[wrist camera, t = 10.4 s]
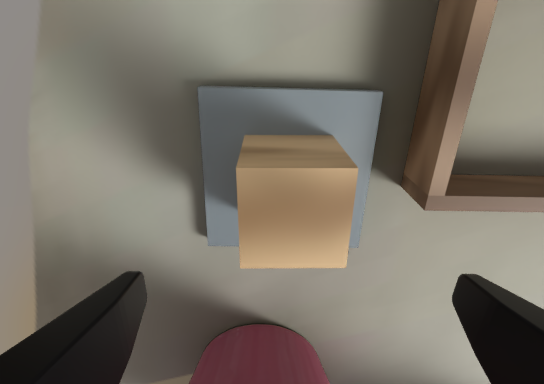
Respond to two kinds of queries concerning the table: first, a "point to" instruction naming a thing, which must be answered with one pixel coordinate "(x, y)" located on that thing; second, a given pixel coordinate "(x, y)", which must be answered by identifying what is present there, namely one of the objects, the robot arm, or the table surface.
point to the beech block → (294, 201)
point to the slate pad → (279, 121)
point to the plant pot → (259, 358)
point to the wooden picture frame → (458, 121)
